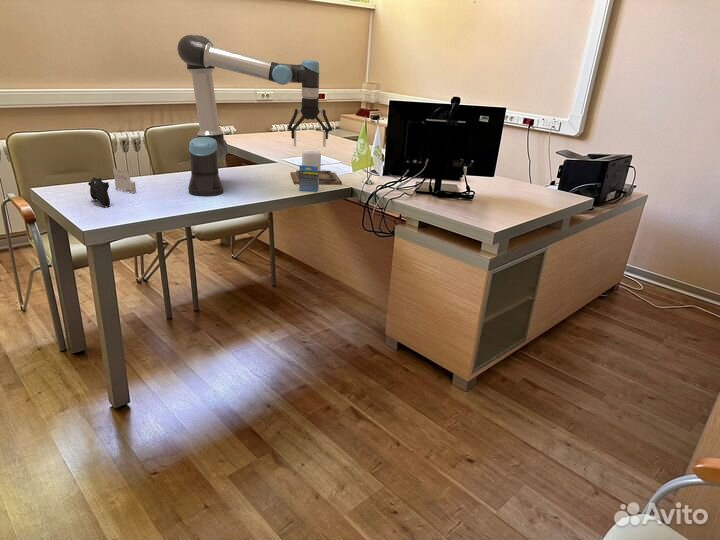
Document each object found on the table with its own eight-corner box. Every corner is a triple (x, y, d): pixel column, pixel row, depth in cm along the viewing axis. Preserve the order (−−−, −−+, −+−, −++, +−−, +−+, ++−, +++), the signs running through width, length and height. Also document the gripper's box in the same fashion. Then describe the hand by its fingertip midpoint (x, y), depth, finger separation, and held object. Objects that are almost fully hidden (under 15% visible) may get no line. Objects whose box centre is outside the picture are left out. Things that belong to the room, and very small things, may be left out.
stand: (294, 184, 251) (294, 179, 250) (290, 174, 269) (290, 169, 268) (341, 184, 256) (341, 179, 255) (334, 175, 275) (335, 170, 274)
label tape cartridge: (318, 190, 243) (319, 165, 238) (317, 192, 240) (318, 166, 235) (300, 189, 244) (300, 163, 239) (298, 191, 240) (299, 165, 235)
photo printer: (319, 171, 282) (320, 148, 277) (321, 172, 278) (321, 150, 273) (301, 171, 279) (301, 148, 275) (302, 172, 276) (302, 149, 271)
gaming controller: (86, 200, 207) (82, 176, 203) (101, 198, 211) (98, 174, 207) (98, 208, 198) (95, 183, 194) (114, 206, 202) (111, 181, 198)
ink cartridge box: (120, 188, 226) (117, 166, 222) (136, 193, 221) (134, 170, 217) (115, 189, 224) (112, 167, 220) (131, 194, 219) (129, 171, 215)
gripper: (282, 97, 219) (283, 147, 228) (339, 99, 224) (337, 147, 233) (281, 96, 226) (281, 144, 234) (336, 98, 231) (334, 145, 240)
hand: (309, 146), depth 234 cm, fingers open, 13 cm apart
